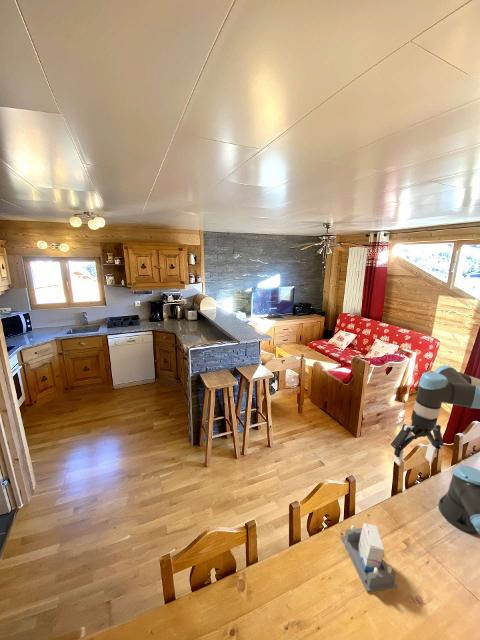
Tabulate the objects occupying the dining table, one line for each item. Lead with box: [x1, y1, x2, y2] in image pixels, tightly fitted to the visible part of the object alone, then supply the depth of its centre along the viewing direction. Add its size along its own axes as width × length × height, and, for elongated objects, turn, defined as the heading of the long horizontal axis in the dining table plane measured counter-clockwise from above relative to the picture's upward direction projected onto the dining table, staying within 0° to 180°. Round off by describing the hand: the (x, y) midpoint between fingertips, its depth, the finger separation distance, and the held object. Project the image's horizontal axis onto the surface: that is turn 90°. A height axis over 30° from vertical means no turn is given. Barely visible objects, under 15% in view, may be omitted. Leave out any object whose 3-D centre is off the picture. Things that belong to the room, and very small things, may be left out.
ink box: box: [358, 522, 385, 572], centre depth 94 cm, size 8×5×12 cm, turn 171°
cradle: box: [340, 524, 398, 593], centre depth 95 cm, size 11×17×8 cm, turn 8°
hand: (413, 461), depth 101 cm, fingers open, 13 cm apart
